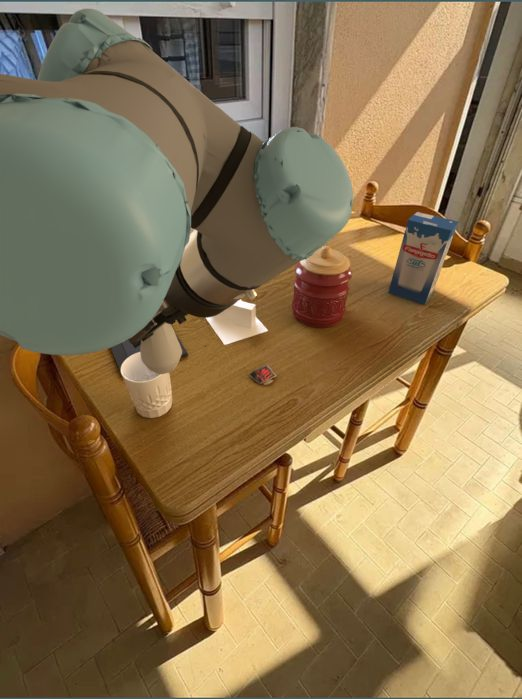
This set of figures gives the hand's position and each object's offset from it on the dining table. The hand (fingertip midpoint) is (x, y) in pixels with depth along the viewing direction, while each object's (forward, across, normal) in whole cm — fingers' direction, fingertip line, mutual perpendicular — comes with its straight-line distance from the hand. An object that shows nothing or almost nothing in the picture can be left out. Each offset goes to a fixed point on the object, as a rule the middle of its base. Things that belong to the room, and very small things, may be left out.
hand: (142, 333), depth 55 cm
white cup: (+17, +1, -11) cm, 21 cm away
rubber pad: (+28, +10, -1) cm, 29 cm away
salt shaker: (0, 0, -6) cm, 6 cm away
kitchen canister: (+13, +46, -16) cm, 50 cm away
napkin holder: (+22, +30, -6) cm, 38 cm away
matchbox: (+10, +20, -19) cm, 29 cm away
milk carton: (+3, +70, -25) cm, 75 cm away
